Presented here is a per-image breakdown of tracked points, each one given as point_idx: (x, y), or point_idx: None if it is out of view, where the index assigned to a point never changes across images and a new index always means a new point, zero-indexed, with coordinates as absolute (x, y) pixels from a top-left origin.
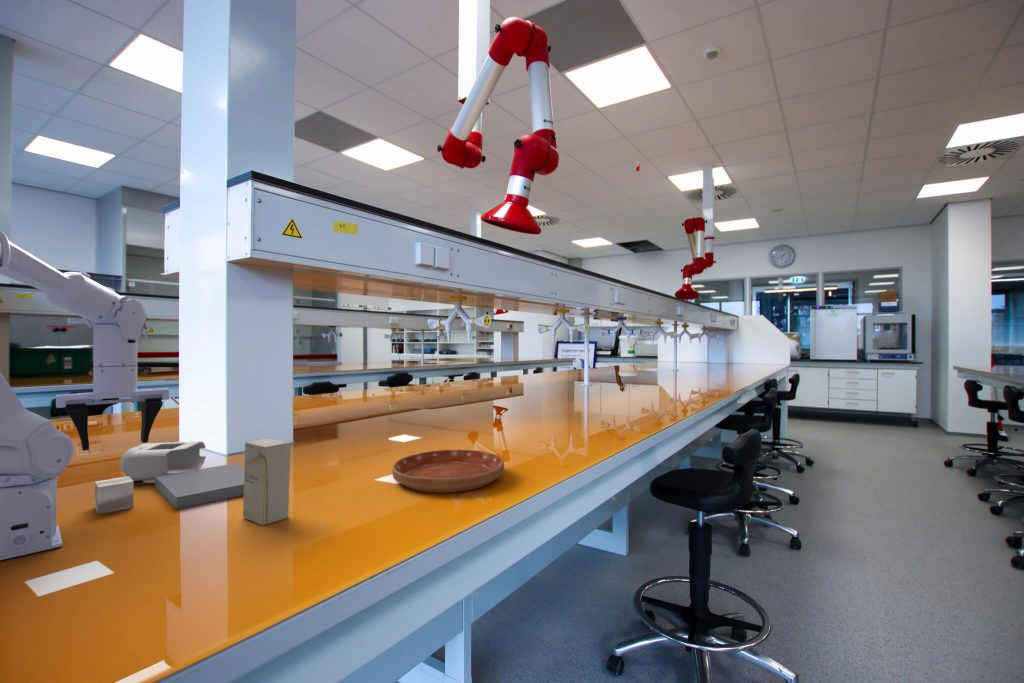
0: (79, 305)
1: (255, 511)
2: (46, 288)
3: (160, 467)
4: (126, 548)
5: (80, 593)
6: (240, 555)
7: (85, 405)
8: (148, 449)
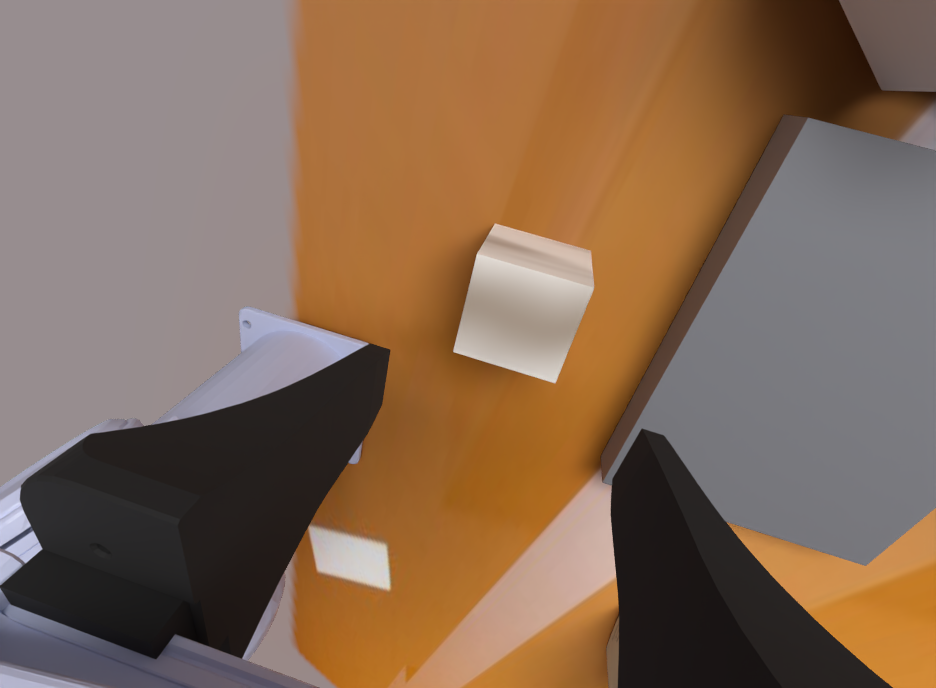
0: None
1: (612, 658)
2: None
3: (907, 61)
4: (428, 544)
5: (350, 599)
6: (509, 670)
7: (189, 591)
8: None
